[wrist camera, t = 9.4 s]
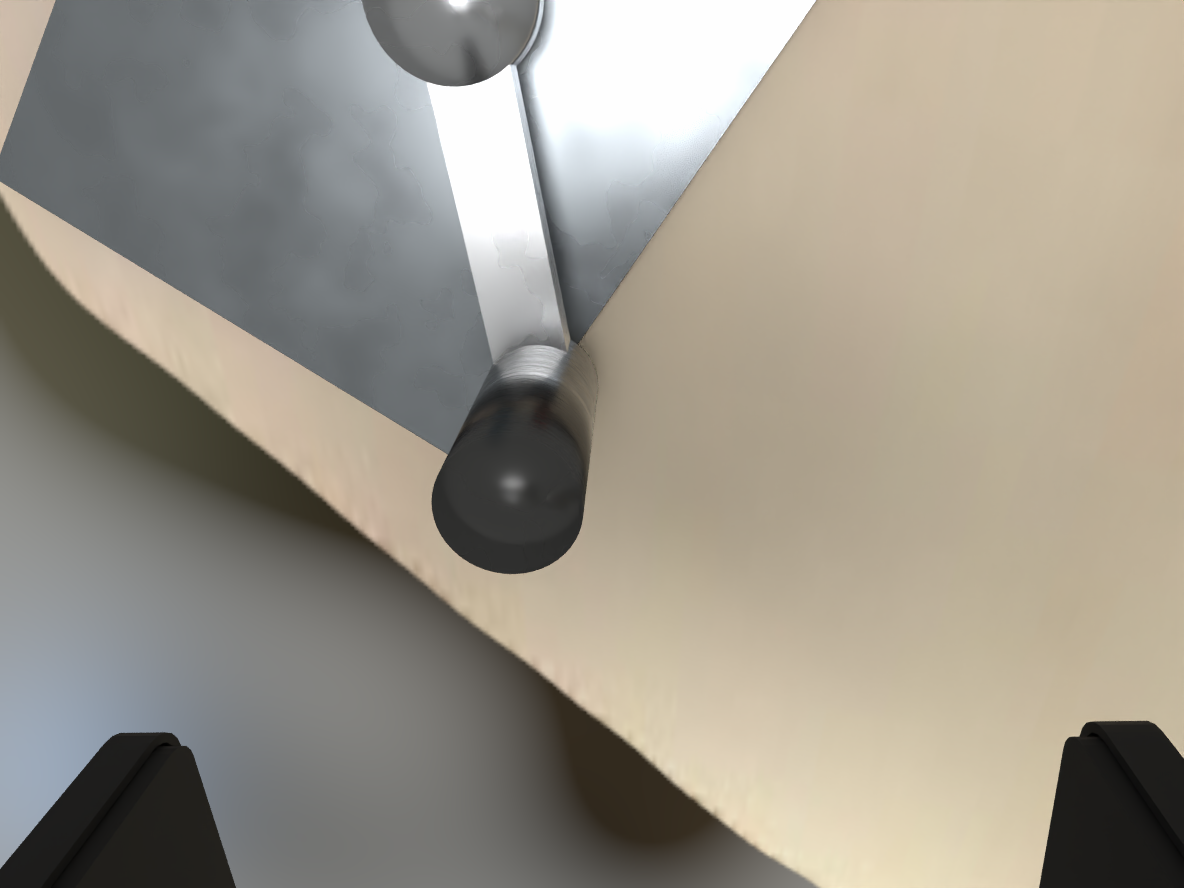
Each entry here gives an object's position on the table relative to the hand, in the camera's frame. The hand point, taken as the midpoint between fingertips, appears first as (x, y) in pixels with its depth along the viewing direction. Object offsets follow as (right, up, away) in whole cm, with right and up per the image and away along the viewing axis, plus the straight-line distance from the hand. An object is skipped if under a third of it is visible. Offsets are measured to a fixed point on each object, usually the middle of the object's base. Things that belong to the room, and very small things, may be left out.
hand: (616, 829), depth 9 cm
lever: (-3, +13, +15) cm, 20 cm away
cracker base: (-6, +16, +16) cm, 24 cm away
